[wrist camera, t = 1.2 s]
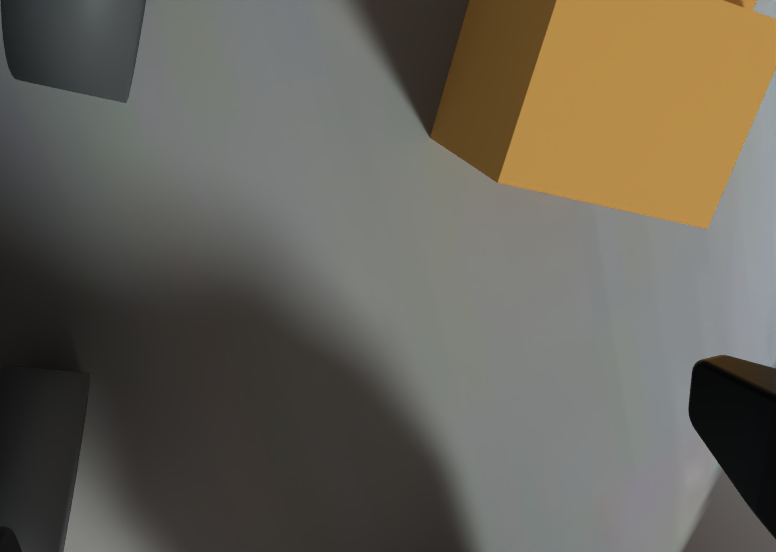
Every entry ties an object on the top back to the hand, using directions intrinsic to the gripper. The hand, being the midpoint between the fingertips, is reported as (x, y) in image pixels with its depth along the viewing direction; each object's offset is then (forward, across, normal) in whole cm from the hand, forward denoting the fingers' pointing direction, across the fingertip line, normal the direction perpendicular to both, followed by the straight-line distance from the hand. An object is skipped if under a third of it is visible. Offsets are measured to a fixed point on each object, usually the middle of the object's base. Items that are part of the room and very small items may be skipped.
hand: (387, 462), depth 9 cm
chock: (+12, -9, -4) cm, 15 cm away
